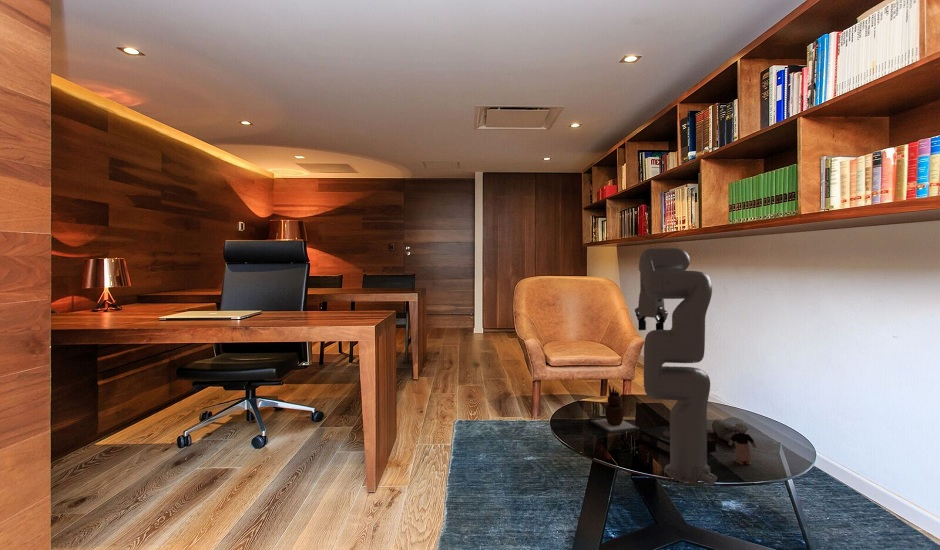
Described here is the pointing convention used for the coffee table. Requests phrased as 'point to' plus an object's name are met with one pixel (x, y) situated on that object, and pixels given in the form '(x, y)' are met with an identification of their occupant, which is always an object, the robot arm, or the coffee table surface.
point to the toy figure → (742, 443)
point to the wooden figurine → (614, 408)
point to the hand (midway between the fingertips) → (650, 331)
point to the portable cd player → (666, 439)
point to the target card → (614, 426)
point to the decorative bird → (724, 430)
